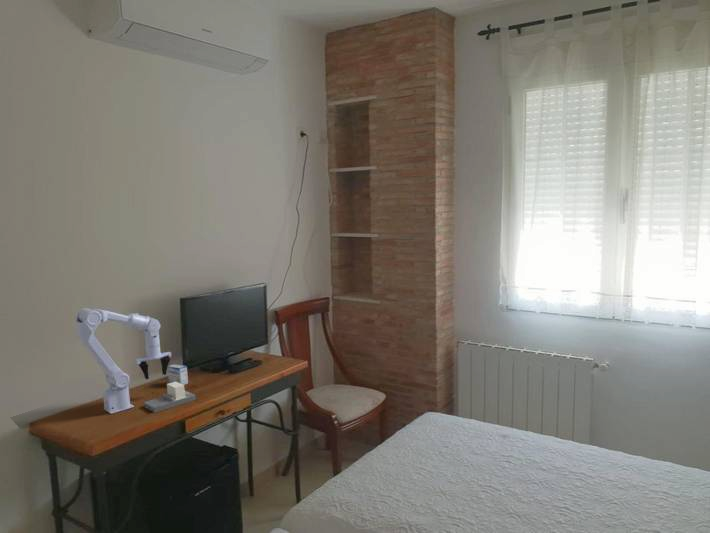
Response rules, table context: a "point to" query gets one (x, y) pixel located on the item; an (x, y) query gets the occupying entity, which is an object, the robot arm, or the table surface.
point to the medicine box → (178, 374)
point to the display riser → (168, 402)
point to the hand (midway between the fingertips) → (155, 376)
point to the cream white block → (176, 390)
